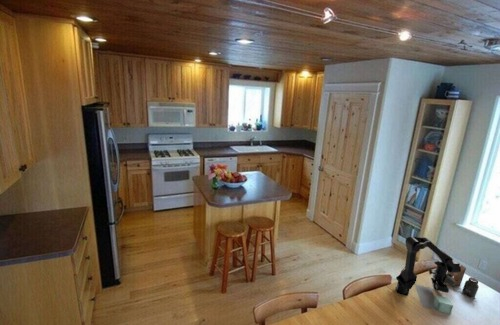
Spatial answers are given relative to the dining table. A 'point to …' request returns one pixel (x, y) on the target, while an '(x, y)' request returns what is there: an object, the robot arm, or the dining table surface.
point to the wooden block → (457, 276)
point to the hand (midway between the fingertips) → (435, 291)
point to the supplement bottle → (470, 287)
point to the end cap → (443, 304)
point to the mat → (426, 296)
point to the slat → (436, 293)
